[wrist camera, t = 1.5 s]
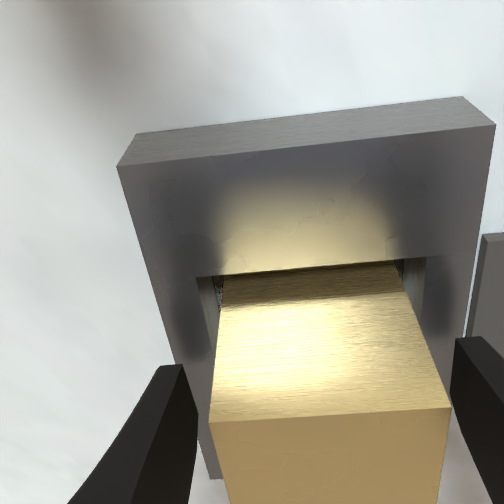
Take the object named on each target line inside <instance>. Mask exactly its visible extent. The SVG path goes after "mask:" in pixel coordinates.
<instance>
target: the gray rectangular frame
mask: <svg viewBox="0 0 504 504" xmlns="http://www.w3.org/2000/svg"><path fill="white" fill-rule="evenodd" d="M495 129H496V124H495V123H494V122H493V121H492V120H490V119H489V118H488V117H487V116H486V115H484V114H483V113H482V112H481V111H480V110H478V109H477V108H476V107H475V106H474V105H472V104H471V103H470V102H469V101H468V100H466V99H465V98H464V97H463V96H460V97H452V98H443V99H434V100H426V101H417V102H409V103H400V104H391V105H383V106H374V107H366V108H357V109H348V110H340V111H331V112H323V113H314V114H305V115H297V116H288V117H280V118H271V119H262V120H254V121H245V122H237V123H228V124H219V125H211V126H202V127H194V128H185V129H176V130H168V131H159V132H151V133H142V134H136V135H135V137H134V138H133V140H132V142H131V143H130V145H129V147H128V148H127V150H126V151H125V153H124V155H123V156H122V158H121V160H120V161H119V163H118V164H117V166H116V168H117V171H118V174H119V178H120V181H121V184H122V188H123V191H124V194H125V198H126V201H127V204H128V208H129V211H130V214H131V217H132V221H133V224H134V227H135V231H136V234H137V237H138V241H139V244H140V247H141V251H142V254H143V257H144V261H145V264H146V267H147V271H148V274H149V277H150V281H151V284H152V287H153V291H154V294H155V297H156V301H157V304H158V307H159V311H160V314H161V317H162V321H163V324H164V327H165V331H166V334H167V337H168V340H169V344H170V347H171V350H172V354H173V357H174V360H175V364H183V367H184V370H185V373H186V376H187V380H188V383H189V386H190V389H191V392H192V395H193V398H194V401H195V404H196V407H197V410H198V413H199V416H198V440H199V444H200V447H201V450H202V453H203V457H204V460H205V463H206V467H207V470H208V473H209V477H210V479H224V478H223V474H222V471H221V467H220V463H219V460H218V456H217V452H216V449H215V445H214V442H213V438H212V434H211V431H210V427H209V423H208V422H209V413H210V404H211V395H212V386H213V376H214V367H215V358H216V349H217V340H218V331H219V322H220V312H219V307H218V302H217V298H216V293H215V288H214V283H213V279H212V276H215V275H226V274H237V273H248V272H260V271H271V270H282V269H293V268H304V267H315V266H326V265H337V264H349V263H360V262H371V261H382V260H393V259H404V264H403V281H402V283H403V286H404V288H405V291H406V293H407V296H408V298H409V301H410V303H411V306H412V308H413V311H414V313H415V316H416V318H417V321H418V324H419V326H420V329H421V331H422V334H423V336H424V339H425V341H426V344H427V346H428V349H429V351H430V354H431V356H432V359H433V361H434V364H435V366H436V369H437V371H438V374H439V376H440V379H441V381H442V384H443V386H444V389H445V391H446V394H447V396H448V399H449V401H450V404H451V406H452V400H451V397H450V394H449V391H450V382H451V373H452V364H453V355H454V347H455V338H462V337H463V330H464V324H465V318H466V311H467V305H468V299H469V293H470V286H471V280H472V274H473V267H474V261H475V255H476V248H477V242H478V236H479V230H480V223H481V217H482V211H483V204H484V198H485V192H486V185H487V179H488V173H489V167H490V160H491V154H492V148H493V141H494V135H495Z"/></svg>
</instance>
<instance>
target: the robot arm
mask: <svg viewBox="0 0 504 504" xmlns="http://www.w3.org/2000/svg"><path fill="white" fill-rule="evenodd" d="M449 394H450V397H451V400H452V404H453V407H454V410H455V414H456V417H457V420H458V423H459V426H460V429H461V432H462V435H463V437H464V439H465V442H466V444H467V446H468V449H469V451H470V453H471V455H472V458H473V460H474V462H475V465H476V467H477V469H478V471H479V474H480V476H481V478H482V480H483V483H484V485H485V487H486V489H487V491H488V494H489V496H490V498H491V500H492V503H493V504H504V358H503V357H502V356H501V355H500V354H499V353H498V352H497V351H496V350H495V349H494V348H493V347H492V346H491V345H490V344H489V343H488V342H487V341H486V340H485V339H484V338H483V337H482V336H474V337H463V338H455V347H454V355H453V364H452V373H451V382H450V391H449ZM198 416H199V413H198V410H197V407H196V404H195V401H194V398H193V395H192V392H191V389H190V386H189V383H188V380H187V376H186V373H185V370H184V367H183V364H174V365H164V366H160V367H159V368H158V369H157V370H156V372H155V374H154V376H153V377H152V379H151V381H150V383H149V384H148V386H147V388H146V390H145V391H144V393H143V395H142V397H141V398H140V400H139V402H138V403H137V405H136V407H135V408H134V410H133V412H132V413H131V415H130V416H129V418H128V420H127V421H126V423H125V424H124V426H123V427H122V429H121V431H120V432H119V434H118V435H117V437H116V438H115V440H114V441H113V443H112V444H111V446H110V447H109V449H108V450H107V451H106V453H105V454H104V456H103V457H102V459H101V460H100V461H99V463H98V464H97V466H96V467H95V469H94V470H93V471H92V473H91V474H90V475H89V477H88V478H87V479H86V481H85V482H84V483H83V484H82V486H81V487H80V488H79V490H78V491H77V492H76V493H75V495H74V496H73V497H72V498H71V500H70V501H69V502H68V503H67V504H188V500H189V495H190V489H191V483H192V477H193V471H194V465H195V459H196V452H197V437H198Z"/></svg>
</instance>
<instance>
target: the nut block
mask: <svg viewBox="0 0 504 504" xmlns="http://www.w3.org/2000/svg"><path fill="white" fill-rule="evenodd" d="M451 409H452V406H451V404H450V401H449V399H448V396H447V394H446V391H445V389H444V386H443V384H442V381H441V379H440V376H439V374H438V371H437V369H436V366H435V364H434V361H433V359H432V356H431V354H430V351H429V349H428V346H427V344H426V341H425V339H424V336H423V334H422V331H421V329H420V326H419V324H418V321H417V318H416V316H415V313H414V311H413V308H412V306H411V303H410V301H409V298H408V296H407V293H406V291H405V288H404V286H403V283H402V281H401V278H400V276H399V273H398V271H397V268H396V266H395V263H394V261H393V260H382V261H371V262H360V263H349V264H337V265H326V266H315V267H304V268H293V269H282V270H271V271H260V272H248V273H237V274H226V275H225V276H224V285H223V294H222V303H221V312H220V322H219V331H218V340H217V349H216V358H215V367H214V376H213V386H212V395H211V404H210V413H209V422H208V423H209V427H210V431H211V434H212V438H213V442H214V445H215V449H216V452H217V456H218V460H219V463H220V467H221V471H222V474H223V478H224V482H225V485H226V489H227V493H228V496H229V500H230V504H437V497H438V491H439V485H440V478H441V472H442V466H443V459H444V453H445V447H446V440H447V434H448V428H449V421H450V415H451Z"/></svg>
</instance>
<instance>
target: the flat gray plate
mask: <svg viewBox="0 0 504 504" xmlns="http://www.w3.org/2000/svg"><path fill="white" fill-rule="evenodd" d="M474 336H482V337H483V338H484V339H485V340H486V341H487V342H488V343H489V344H490V345H491V346H492V347H493V348H494V349H495V350H496V351H497V352H498V353H499V354H500V355H501V356H502V357H503V358H504V232H502V233H491V234H482V240H481V246H480V252H479V259H478V265H477V271H476V277H475V283H474V289H473V295H472V301H471V307H470V314H469V320H468V326H467V332H466V337H474Z"/></svg>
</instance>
